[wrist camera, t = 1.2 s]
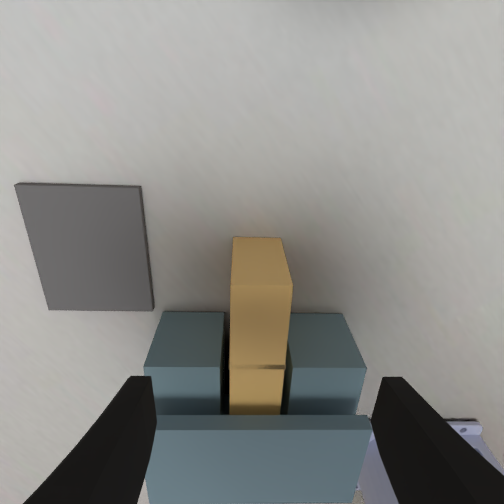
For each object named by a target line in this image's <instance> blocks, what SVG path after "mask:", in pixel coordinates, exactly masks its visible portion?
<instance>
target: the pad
mask: <svg viewBox="0 0 504 504" xmlns="http://www.w3.org/2000/svg"><path fill="white" fill-rule="evenodd" d="M14 187H15V190H16V194H17V197H18V201H19V205H20V208H21V212H22V215H23V219H24V223H25V226H26V230H27V233H28V237H29V241H30V244H31V248H32V251H33V255H34V259H35V262H36V266H37V269H38V273H39V277H40V280H41V284H42V287H43V291H44V295H45V298H46V302H47V305H48V309H49V310H81V311H153V309H154V301H153V292H152V283H151V274H150V265H149V256H148V247H147V238H146V229H145V220H144V211H143V202H142V193H141V186H116V185H78V184H41V183H18V184H15V185H14Z"/></svg>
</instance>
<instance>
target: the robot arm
mask: <svg viewBox="0 0 504 504" xmlns="http://www.w3.org/2000/svg"><path fill="white" fill-rule="evenodd" d="M370 424H371V427H372V434H371V437H370V441H369V444H368V448H367V451H366V455H365V458H364V462H363V465H362V469H361V472H360V476H359V479H358V483H357V486H356V490H361V492H362V495H363V499H364V502H365V504H504V470H503V468H502V467H501V465H500V464H499V462H498V461H497V459H496V458H495V457H494V455H493V454H492V452H491V451H490V449H489V448H488V446H487V445H486V444H485V442H484V441H483V439H482V438H481V436H480V434H481V432H482V429H483V427H482V426H481V424H480V423H479V422H476V421H445V420H444V419H443V418H442V417H441V416H440V415H439V414H438V413H437V412H436V411H435V410H434V409H433V408H432V407H431V406H430V405H429V404H428V403H427V402H426V401H425V400H424V399H423V398H422V397H421V396H420V395H419V394H418V393H417V392H416V391H415V390H414V389H413V388H412V387H411V386H410V384H409V383H408V382H407V381H405V380H404V379H403V378H402V377H383V378H382V381H381V385H380V389H379V392H378V396H377V400H376V403H375V407H374V410H373V414H372V418H371V422H370ZM156 426H157V416H156V409H155V401H154V393H153V386H152V378H151V376H130V377H129V378H128V379H127V381H126V382H125V383H124V385H123V386H122V388H121V389H120V390H119V392H118V393H117V394H116V396H115V397H114V398H113V400H112V401H111V402H110V404H109V405H108V406H107V408H106V409H105V410H104V411H103V413H102V414H101V415H100V417H99V418H98V419H97V420H96V422H95V423H94V424H93V425H92V427H91V428H90V429H89V430H88V432H87V433H86V434H85V435H84V436H83V438H82V439H81V440H80V441H79V443H78V444H77V445H76V446H75V447H74V448H73V450H72V451H71V452H70V453H69V454H68V455H67V456H66V458H65V459H64V460H63V461H62V462H61V463H60V464H59V465H58V467H57V468H56V469H55V470H54V471H53V472H52V473H51V475H50V476H49V477H48V478H47V479H46V480H45V481H44V482H43V483H42V484H41V485H40V486H39V487H38V489H37V490H36V491H35V492H34V493H33V494H32V495H31V496H30V497H29V498H28V499H27V500H26V501H25V502H24V503H23V504H137V502H138V498H139V495H140V492H141V488H142V485H143V482H144V478H145V475H146V471H147V468H148V464H149V461H150V457H151V452H152V447H153V442H154V437H155V431H156Z"/></svg>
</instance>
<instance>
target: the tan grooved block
mask: <svg viewBox="0 0 504 504" xmlns="http://www.w3.org/2000/svg"><path fill="white" fill-rule="evenodd" d="M292 292H293V283H292V280H291V276H290V272H289V268H288V264H287V261H286V257H285V253H284V249H283V245H282V241H281V238H257V237H233V250H232V267H231V284H230V349H229V369H230V407H229V415H280V409H281V399H282V389H283V379H284V370H285V369H286V361H285V360H286V350H287V340H288V331H289V321H290V311H291V301H292Z"/></svg>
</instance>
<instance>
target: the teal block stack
mask: <svg viewBox="0 0 504 504" xmlns="http://www.w3.org/2000/svg"><path fill="white" fill-rule="evenodd" d="M285 361H286V369H285V370H284V379H283V389H282V399H281V409H280V415H229V407H230V394H224V312H163V313H162V316H161V319H160V322H159V324H158V327H157V330H156V333H155V336H154V338H153V341H152V344H151V347H150V350H149V352H148V355H147V358H146V361H145V364H144V366H143V368H144V375H145V376H151V378H152V386H153V393H154V401H155V409H156V416H157V426H156V431H155V437H154V442H153V447H152V452H151V457H150V461H149V464H148V468H147V471H146V475H145V480H146V486H147V491H148V497H149V503H150V504H283V503H352V500H353V497H354V493H355V490H356V486H357V483H358V479H359V476H360V472H361V469H362V465H363V462H364V458H365V455H366V451H367V448H368V444H369V441H370V437H371V434H372V427H371V424H370V422H369V419H368V417H367V415H355V414H356V410H357V406H358V402H359V398H360V394H361V390H362V386H363V382H364V378H365V374H366V369H367V367H366V365H365V363H364V361H363V358H362V356H361V354H360V352H359V350H358V347H357V345H356V343H355V341H354V338H353V336H352V334H351V332H350V330H349V327H348V325H347V323H346V321H345V319H344V316H343V314H320V313H290V321H289V331H288V340H287V350H286V360H285Z"/></svg>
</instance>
